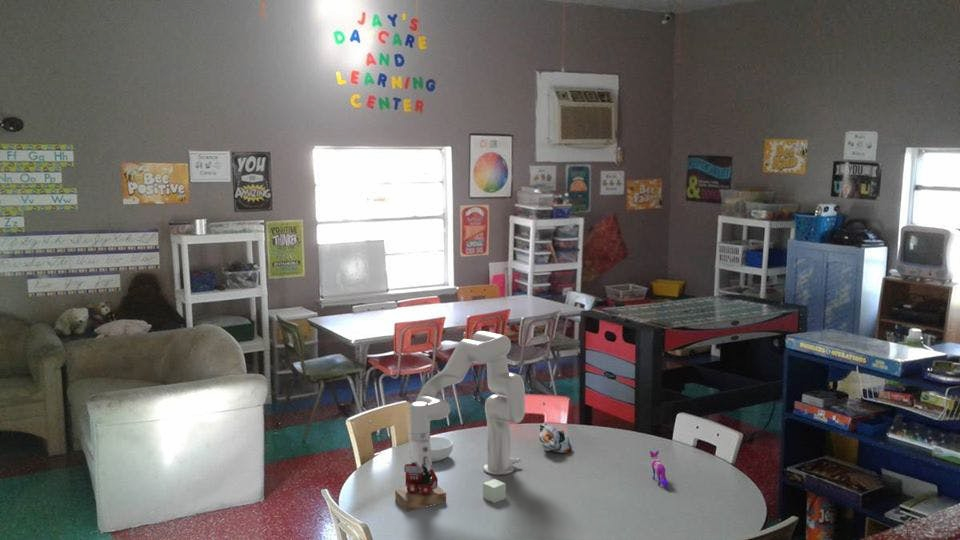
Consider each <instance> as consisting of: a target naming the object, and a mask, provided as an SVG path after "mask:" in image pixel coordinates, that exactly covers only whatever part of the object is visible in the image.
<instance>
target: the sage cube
mask: <svg viewBox="0 0 960 540" xmlns="http://www.w3.org/2000/svg"><path fill="white" fill-rule="evenodd" d="M506 485H507V484H506V483H505V482H503V481H500V480H498V479H496V478H493V479H491V480H488V481H486V482H483V483H482V498H483V499H484V500H486V501H489V502H491V503H494V504H495V503H497V502H500V501H503V500H506V497H507V495H506V487H507V486H506Z"/></svg>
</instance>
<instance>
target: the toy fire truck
mask: <svg viewBox="0 0 960 540" xmlns="http://www.w3.org/2000/svg"><path fill="white" fill-rule="evenodd" d="M422 466H424V465H422ZM403 469H404V473H405V488H407V491H408V493H410V494H415V493H416V492H417V491H418V488H420V491H421V493H422V494H424V495H428V494H430V492H431V489H436V488H437V485H438V476H437V474H436V472H435V471H434V469H433V468H431V471H430V483H429V484H424V485H422V484H421V474H422V470H421V468H420V467H418V466H417V465H416V464H411V463H406V464H405V465H404V468H403ZM425 469H426V468H424V470H425ZM438 486H439V485H438Z"/></svg>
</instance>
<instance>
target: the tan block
mask: <svg viewBox="0 0 960 540" xmlns="http://www.w3.org/2000/svg"><path fill="white" fill-rule="evenodd" d="M394 492H395V493H394V499H395V501H396V502H397V503H398V505H399V506H401V507H402V509H403V510H404V509H405V510H406V511H405V510H404V511H405V512H410V511H409V510H411V511H415V510H414V509H416V510H418V509H417V508H420V509H423V508H422V507H425V508H427V507H426V506H430V505H434V504H435V505H434V506H437V505H436V504H439V505H441V504H440V503H443V504H445V503H444V502H446V503H447V492H446V491H445V490H444V489H443V488H441V486H440V485H437V488H436V489H431V492H430V494H428V495H424V494H422V493H421V491H420V488H418V491H417V492H416V493H415V494H410V493H408V491H407V487H404V488H397V489H395V491H394ZM430 507H431V506H430Z"/></svg>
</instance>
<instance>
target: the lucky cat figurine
mask: <svg viewBox="0 0 960 540" xmlns="http://www.w3.org/2000/svg"><path fill="white" fill-rule="evenodd" d="M539 427H540V428H539V437H538V438H539V442H540V443H541V444H542V446H543V450H544V451H546V452H547V451H549V452H550V451H551V452H557V453H562V454H569V453H570V452H571V451H573V449H574V448H573V445H572V443H570V438H569V436H568V435H567V434H566V433H565V432H564V430H563V429H561V430H559V429H557V428H556V427H555V426H554V425H547V423H545V422H544V423H542V424H540V426H539Z"/></svg>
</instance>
